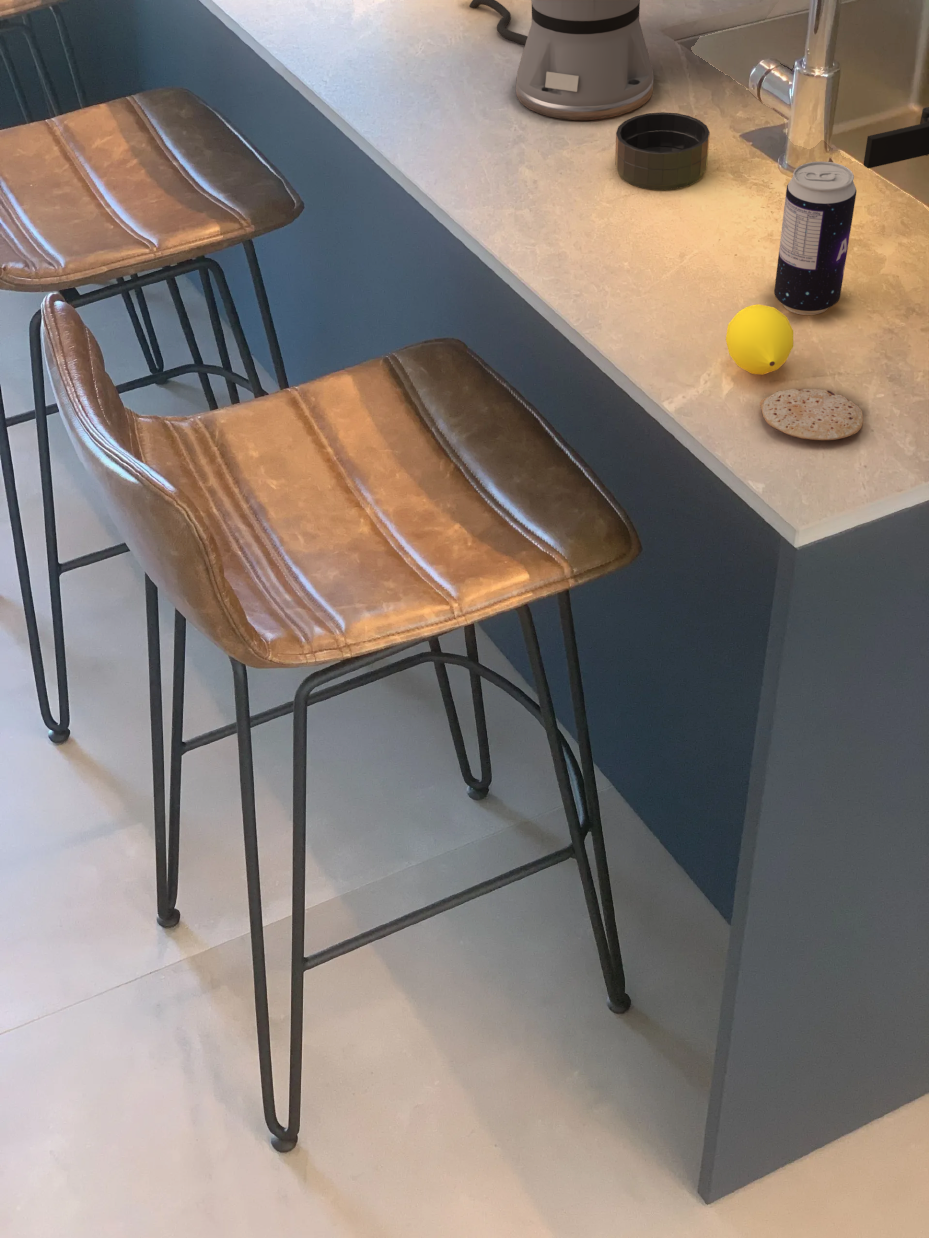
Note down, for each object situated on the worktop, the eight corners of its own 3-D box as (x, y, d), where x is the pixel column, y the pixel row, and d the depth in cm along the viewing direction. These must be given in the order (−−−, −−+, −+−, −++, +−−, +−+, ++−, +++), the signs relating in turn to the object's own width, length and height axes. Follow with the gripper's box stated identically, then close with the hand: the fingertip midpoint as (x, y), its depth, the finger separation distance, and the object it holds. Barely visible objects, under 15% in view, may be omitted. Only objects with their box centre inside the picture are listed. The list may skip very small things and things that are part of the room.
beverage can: (838, 322, 121) (858, 192, 113) (771, 317, 122) (787, 189, 114) (839, 287, 125) (859, 160, 117) (774, 283, 126) (789, 157, 118)
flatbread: (864, 402, 113) (866, 391, 112) (859, 452, 108) (861, 440, 107) (762, 388, 115) (764, 378, 114) (752, 437, 109) (754, 426, 109)
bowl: (609, 153, 146) (610, 116, 143) (696, 146, 146) (699, 109, 144) (623, 194, 139) (624, 156, 137) (714, 187, 140) (717, 149, 137)
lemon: (715, 347, 119) (720, 291, 115) (778, 342, 119) (785, 285, 115) (734, 395, 114) (740, 338, 110) (800, 388, 114) (808, 331, 110)
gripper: (1207, 237, 118) (990, 293, 113) (1023, 121, 135) (828, 166, 130) (1236, 152, 112) (1010, 207, 108) (1041, 43, 130) (839, 86, 125)
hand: (910, 185), depth 119 cm, fingers open, 13 cm apart
